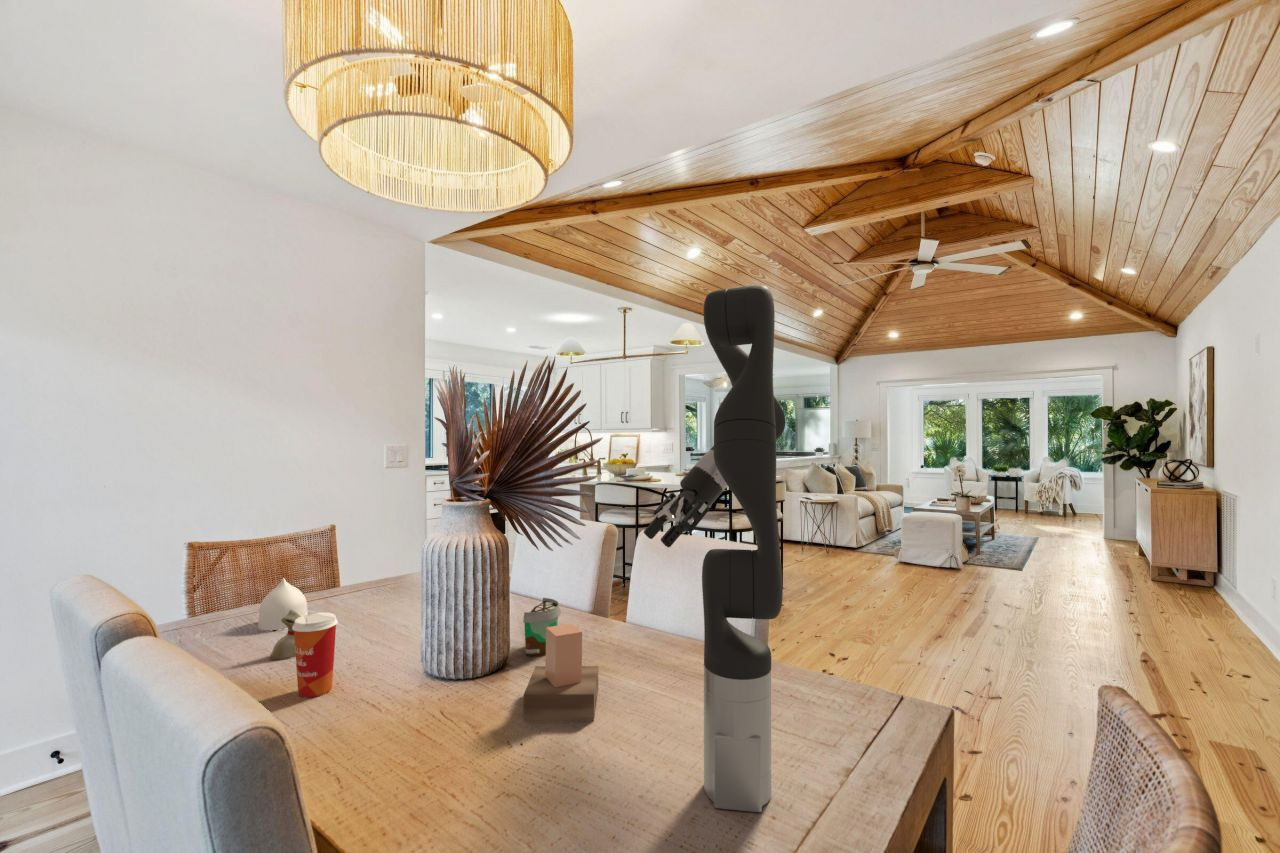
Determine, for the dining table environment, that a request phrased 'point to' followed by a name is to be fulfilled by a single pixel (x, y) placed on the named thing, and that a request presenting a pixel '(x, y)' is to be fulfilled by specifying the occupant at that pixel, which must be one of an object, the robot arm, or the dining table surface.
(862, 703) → the dining table surface
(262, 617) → the teardrop
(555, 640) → the peach tall block
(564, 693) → the walnut block
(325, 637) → the paper cup
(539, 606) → the food container
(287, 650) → the tied pouch
